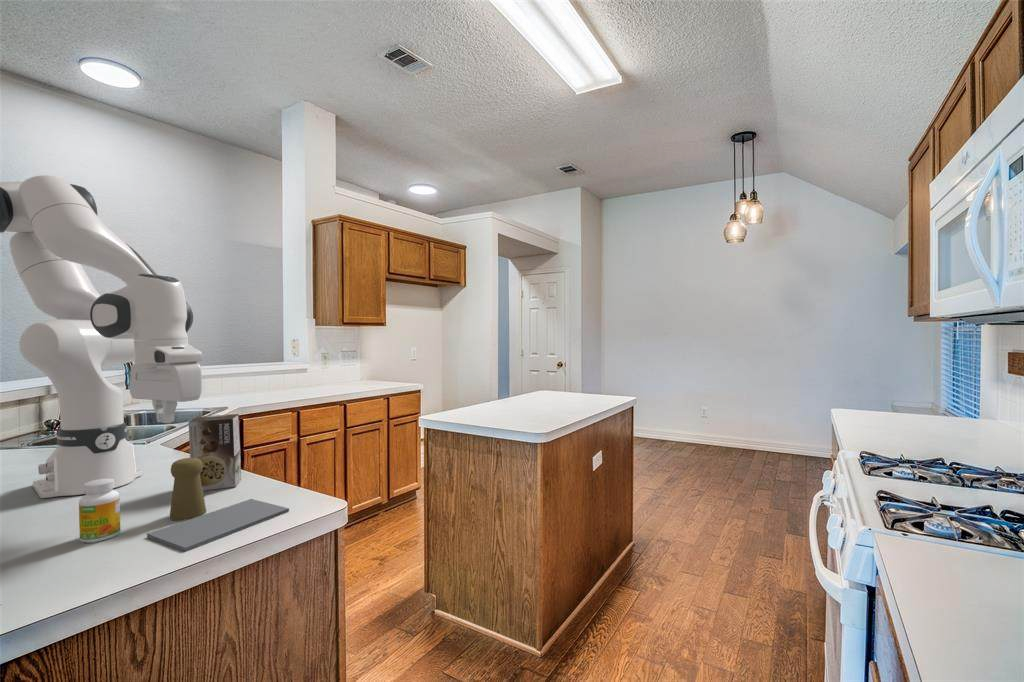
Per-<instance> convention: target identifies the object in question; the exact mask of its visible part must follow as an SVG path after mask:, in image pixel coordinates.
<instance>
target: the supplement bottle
mask: <svg viewBox="0 0 1024 682" xmlns="http://www.w3.org/2000/svg"><path fill="white" fill-rule="evenodd" d="M84 493H86V494H84V495H83V496H82V497H80V499H79V501H78V516H79V517H78V521H79V540H80V542H82V543H84V542H87V544H90V543H89V542H93V543H97V542H98V541H99V542H101V541H102V540H103V541H106V539H107V540H110V539H112V538H115V537H116V536H118V535H119V534H120V532H121V507H120V506H121V502H120V501H121V499H120V493H119V491H117V490H115V488H114V479H99V480H94V481H90V482H87V483H85V484H84ZM114 536H115V537H114ZM109 538H110V539H109ZM103 541H102V542H103Z"/></svg>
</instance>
